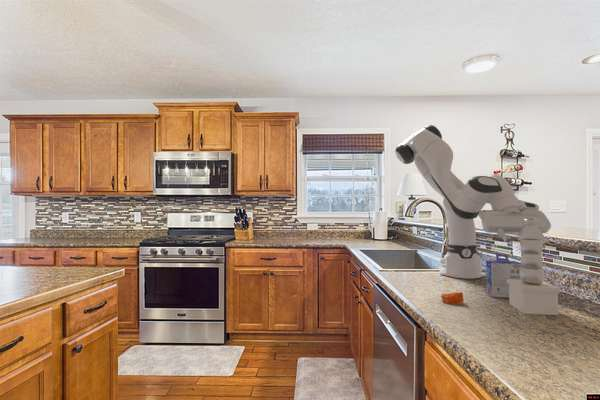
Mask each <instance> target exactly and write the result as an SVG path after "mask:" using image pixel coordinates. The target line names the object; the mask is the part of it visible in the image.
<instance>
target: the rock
mask: <svg viewBox="0 0 600 400" xmlns="http://www.w3.org/2000/svg"><path fill="white" fill-rule="evenodd" d="M440 297H441V299H442V301H443V303H445V304H447V305H460V306H461V305H463V304H464V293H463V292H462V291H459V292H458V291H457V292H452V293H441V295H440Z"/></svg>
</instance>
